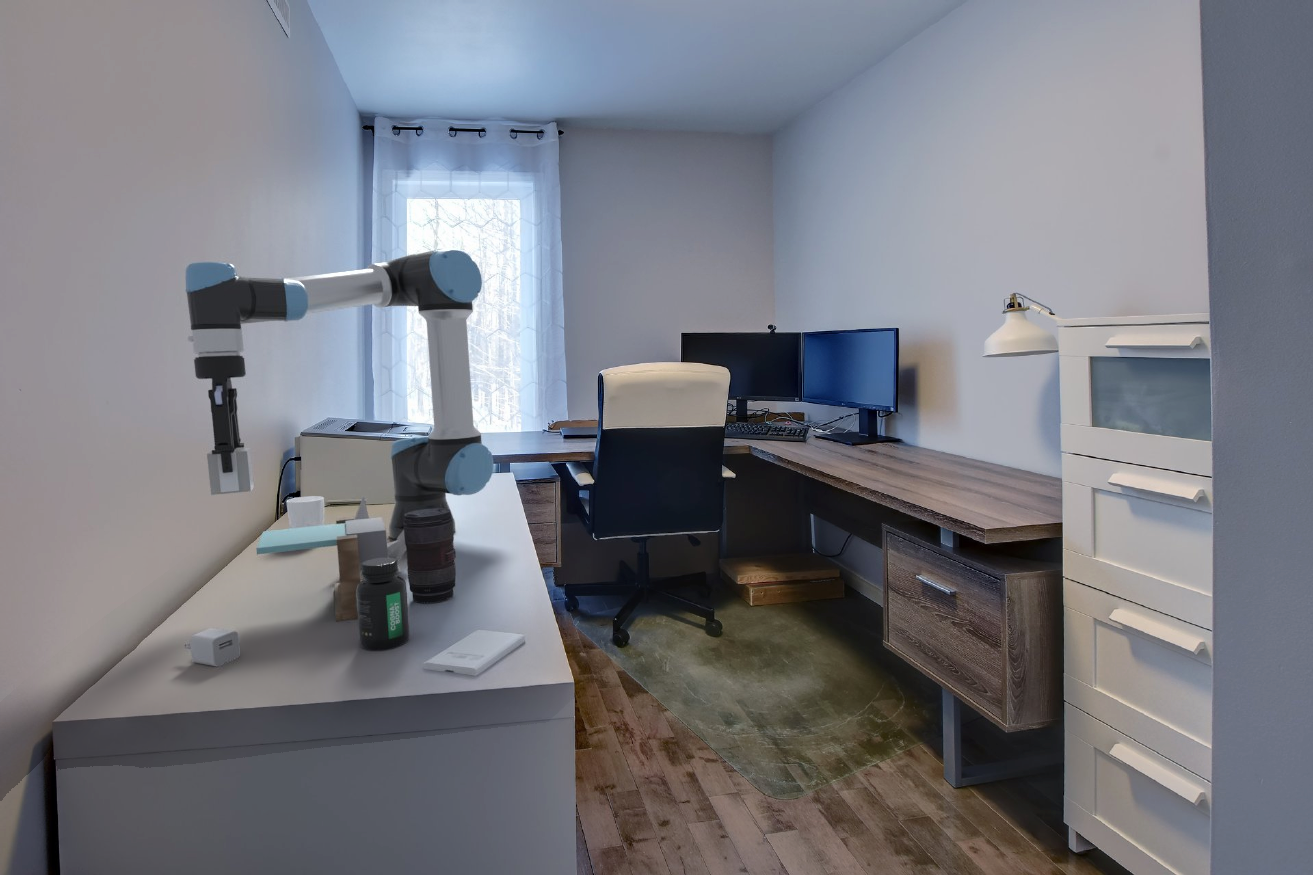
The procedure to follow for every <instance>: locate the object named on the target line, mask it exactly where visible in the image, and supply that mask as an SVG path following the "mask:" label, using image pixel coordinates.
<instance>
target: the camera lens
mask: <svg viewBox="0 0 1313 875" xmlns="http://www.w3.org/2000/svg"><path fill="white" fill-rule="evenodd" d="M451 513H452V511H451V508H450V509H446V508H432V509H422V510H416V511H412V512H408V513H406V514H405V515H404V516H405V518H404V523H403V524H404V537H405V545H406V561H407V564H406V565H407V580H408V586H409V591H410V592H411V594H412V600H413V601H414V602H415V603H419V604H436V603H442V602H445V601H447V600H450V599H451V598H453V596H454V588H455V587H456V578H457V571H456V568H457V567H456V562H455V560H456V558H457V557H456V554H457V552H456V550H457V549H456V548H454V540H455V538H454V536H455V534H454V533H455V531H454V528H453V518H454V517H453V518H452V515H453V514H452V515H451Z"/></svg>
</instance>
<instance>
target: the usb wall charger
mask: <svg viewBox="0 0 1313 875" xmlns="http://www.w3.org/2000/svg"><path fill="white" fill-rule="evenodd" d="M240 647H241V646H240V638H239V633H238V631H236V630H231V629H224V628H218V627H217V628H216V627H210V628H208V629H205V630H203V631H199V632H198V633H193V634H192V635H191V637H190V638H189V643H187V642H186V643H184V648H185V649H189V650H190V654H191V655H190V656H191V661H192V662H193V663H195V664H202V665H207V666H212V667H217V666H218V667H220V666H222V665H224V664H223V663H225V662H227V663H229V662H228V661H230V660H232V661H234V660H235V659H234V658H237V657H238V658H239V657H240V654H241V650H240V649H241V648H240ZM238 658H237V659H238ZM233 659H234V660H233ZM230 662H231V661H230ZM225 664H226V663H225ZM219 665H220V666H219Z"/></svg>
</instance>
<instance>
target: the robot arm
mask: <svg viewBox="0 0 1313 875" xmlns="http://www.w3.org/2000/svg"><path fill="white" fill-rule="evenodd" d="M482 283H483V281H482V274H481V271H480V268H479V266H478V264H477V262H476V261H475V260H474V259H472V257H471V255H469V254H468V253H467V252H465V251H463V250H461V249H458V248H438V249H436V250H431V251H426V252H419V253H414V254H408V255H405V256H401V257H398V258H396V259H395V258H394V259H392V260H389V261H383V262H377V263H370V264H369V265H368V266H366V268H365V269H357V270H348V271H339V272H329V273H322V274H314V275H313V274H311V275H305V276H304V275H303V276H295V277H285V278H284V277H283V278H282V277H281V278H270V277H269V278H267V277H264V278H263V277H246V276H244V277H243V276H240V275H238V273H237V270H236V267H235V266H234V264H232V263H229V262H228V263H226V262H217V261H215V262H214V261H201V262H194V263H190V264H188V265H187V266H186V268H185V293H186V297H187V306H188V314H189V320H190V322H189V323H190V330H191V334H192V335H189V336H188V337H187V341H188V342H190V343H192V348H193V349H192V351H193V353H194V354H196V355H197V356H198V357H194V359H193V362H194V363H193V364H194V372H195V377H196V378H197V379H198V380H199V379H200V380H207V379H211V389H208V391H207V392H208V398H209V400H210V412H211V419H212V427H213V428H212V430H213V439H214V449H212V450H211V451H212V455H213V454H217V458H218V467H219V477H220V487H221V492H230V491H239V480H238V470H237V460H236V452H235V453H234V451H235V449H237V448H245V443H244V442H241V440H242V439H241V438H240V429H239V419H238V402H237V397H238V391H237V390H238V389H237V388H233V385H232V379H234V378H243V377H246V375H247V374H246V364H245V357H243V355H241V353H243V352H244V350H245V349H244V339H243V329H242V325H245V324H252V323H254V324H255V323H264V322H276V321H277V322H279V321H281V322H282V321H283V322H290V321H299V320H302V319H303V318H304V317H305V316H306V315H308V314H310V315H311V314H315V313H316V314H317V313H322V312H329V311H335V310H336V311H337V310H342V309H344V310H345V309H350V308H355V307H363V306H369V305H373V306H374V307H376V308H386V307H418V308H417V309H418V314H419V315H420V316H421V317H422V318H423V319H424V321H426V333H427V346H428V357H429V358H428V359H429V360H428V361H429V372H430V373H429V374H430V387H431V400H432V414H433V415H432V416H433V430H432V431H431V432H430V433H429V434H428V435H426V436H425V435H424V436H417V437H411V438H402V439H397V440H395V441H393V443H392V444H391V456H390V458H391V465H392V476H393V477H392V479H393V480H392V481H393V491H394V492H393V493H394V506H393V509H392V514H391V518H390V521H389V525H388V534H389V535H388V536H389V538H390V539H394V540H397V538H398V536H399V535H400V534H401V532H402V531H403V530H404V524H403V523H404V518H405V516H404V515H405V514H406V513H408V512H412V511H416V510H422V509H432V508H446V509H450V510H451V508H450V506H449V504H448V501H447V497H446V496H447V494H450V495H454V496H471V495H475V494H478V493H479V492H480V491H482V490H484V488H485V487H486V485H487V484H488V482H489V481H490V480H491V478H492V475H493V471H494V467H495V464H494V456H493V454H492V452H491V450H489V448H488V446H486V445H484V444H483V443H482V433H481V432H480V431H479V430H478V429H477V428H476V427H475V426H474V413H473V399H472V398H473V397H472V386H471V385H472V383H471V371H470V370H471V369H470V368H471V367H470V366H471V364H470V352H469V341H468V340H469V339H468V338H469V337H468V336H469V335H468V324H467V322H468V320H467V319H468V318H469V317H470V316H471V314H473V312H474V311H473V309H474V308H473V301H475V299H477V298H478V296H479V293H481V290H482V287H483V284H482ZM231 378H232V379H231ZM451 515H452V518H453V528H454V532H455V531H456V521H455V518H454V515H453V513H452V512H451Z"/></svg>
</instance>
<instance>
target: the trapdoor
mask: <svg viewBox="0 0 1313 875" xmlns="http://www.w3.org/2000/svg"><path fill="white" fill-rule="evenodd" d="M383 520H384V519H383V518H382V516H379V517H372V518H370V517H369V519H359V520H349V521H345V522H346V523H340V524H336V523H333V524H332V523H331V524H324V525H321V526H311V527H301V528H291V529H290V528H285V529H284V528H283V529H274V530H264V531H262V533H261V536H260V538H259V541H258V544H257V545H256V548H255V549H256V555H265V554H273V553H275V554H276V553H283V552H291V551H299V550H300V551H301V550H308V549H317V548H318V549H319V548H327V547H337V537H338V536H347V535H357V540H358V554H359V563H363V562H365V561H367V560H371V559H376V558H388V553H387V542H388V539H387V529H386V527H385V526H386V525H385V523H384V521H383Z"/></svg>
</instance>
